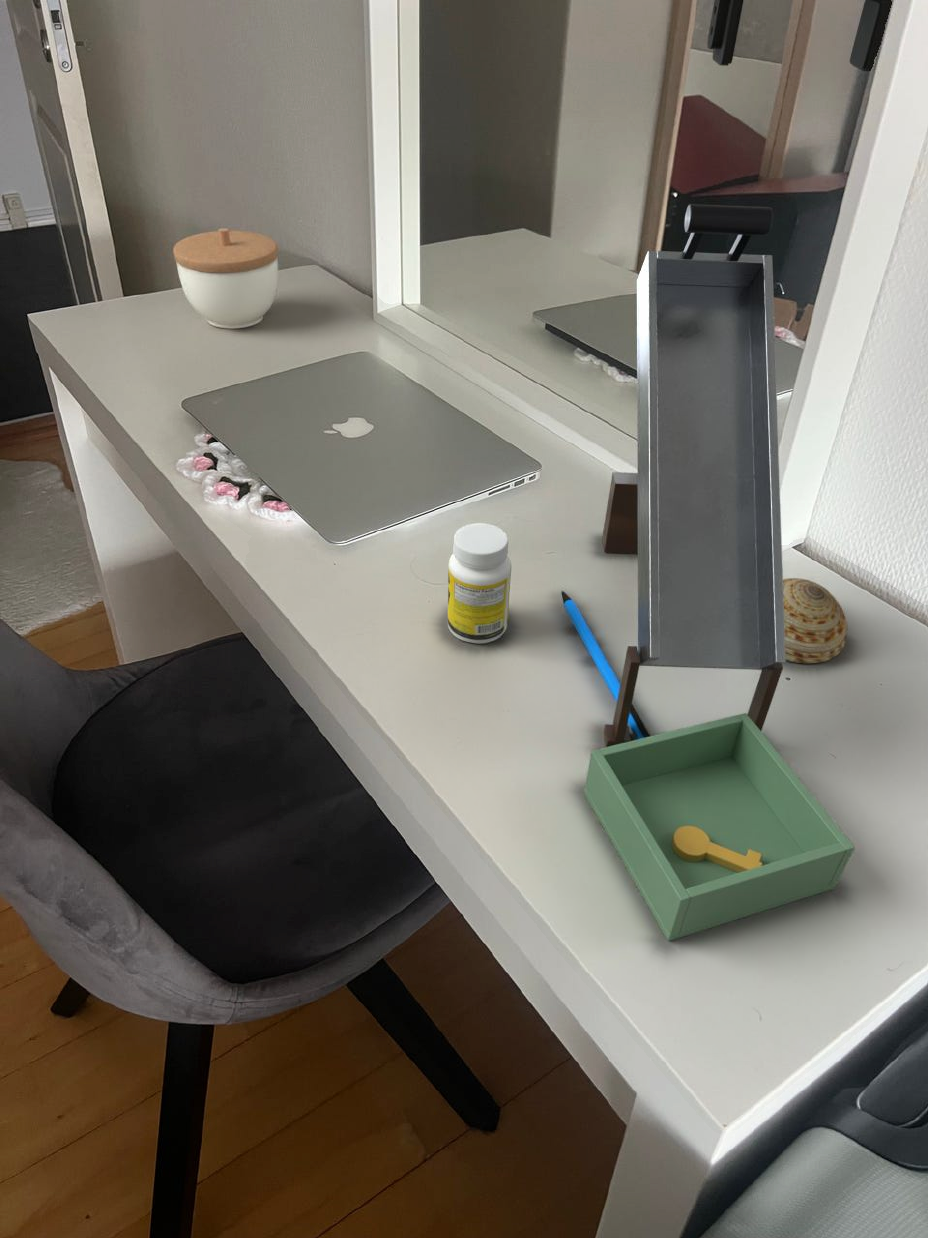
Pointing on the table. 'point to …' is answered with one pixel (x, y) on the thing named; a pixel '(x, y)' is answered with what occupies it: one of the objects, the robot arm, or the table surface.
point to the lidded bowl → (228, 276)
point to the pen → (602, 664)
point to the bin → (713, 823)
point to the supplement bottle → (479, 583)
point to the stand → (624, 539)
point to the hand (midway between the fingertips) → (790, 65)
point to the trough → (709, 452)
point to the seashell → (812, 622)
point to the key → (711, 850)
